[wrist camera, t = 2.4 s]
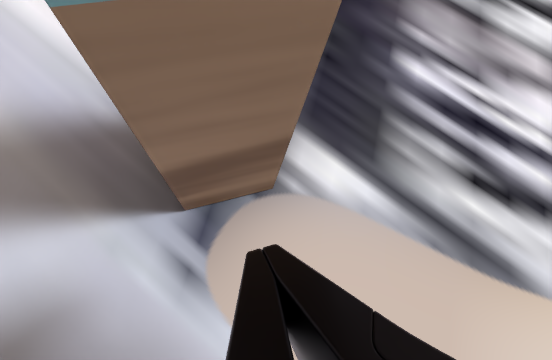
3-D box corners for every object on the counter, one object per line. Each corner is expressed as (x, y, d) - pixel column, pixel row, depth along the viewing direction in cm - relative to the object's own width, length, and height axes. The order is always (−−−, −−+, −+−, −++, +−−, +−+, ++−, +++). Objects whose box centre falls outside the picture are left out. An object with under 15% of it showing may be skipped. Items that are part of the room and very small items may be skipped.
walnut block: (272, 188, 18) (374, -88, 5) (185, 210, 17) (1, -65, 4) (249, 114, 19) (279, -259, 6) (167, 130, 18) (-9, -275, 5)
